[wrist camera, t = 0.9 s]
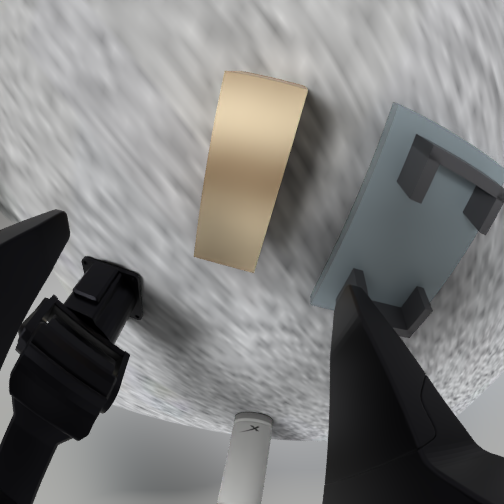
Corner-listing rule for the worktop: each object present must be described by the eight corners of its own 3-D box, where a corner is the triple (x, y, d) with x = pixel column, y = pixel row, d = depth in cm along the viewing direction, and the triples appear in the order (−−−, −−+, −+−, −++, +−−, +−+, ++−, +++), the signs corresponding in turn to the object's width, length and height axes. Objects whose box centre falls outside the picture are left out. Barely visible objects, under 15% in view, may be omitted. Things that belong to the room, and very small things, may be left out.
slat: (263, 227, 20) (253, 273, 16) (215, 214, 20) (193, 256, 16) (304, 85, 14) (308, 89, 10) (245, 71, 14) (225, 70, 10)
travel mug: (251, 408, 38) (228, 528, 22) (280, 420, 40) (265, 530, 24) (226, 414, 42) (202, 521, 25) (255, 426, 44) (237, 526, 28)
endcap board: (407, 318, 23) (415, 348, 20) (310, 296, 23) (310, 329, 20) (501, 166, 13) (528, 186, 11) (393, 102, 13) (415, 110, 10)
